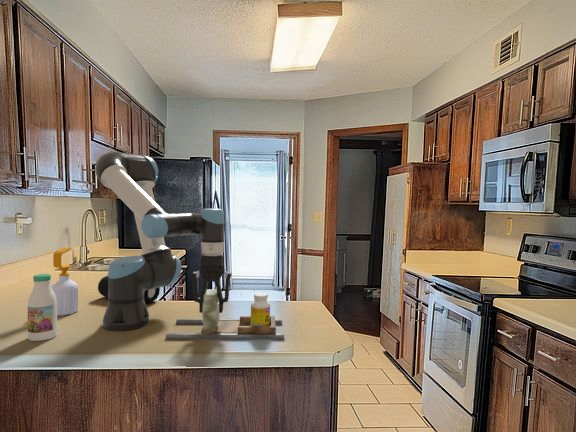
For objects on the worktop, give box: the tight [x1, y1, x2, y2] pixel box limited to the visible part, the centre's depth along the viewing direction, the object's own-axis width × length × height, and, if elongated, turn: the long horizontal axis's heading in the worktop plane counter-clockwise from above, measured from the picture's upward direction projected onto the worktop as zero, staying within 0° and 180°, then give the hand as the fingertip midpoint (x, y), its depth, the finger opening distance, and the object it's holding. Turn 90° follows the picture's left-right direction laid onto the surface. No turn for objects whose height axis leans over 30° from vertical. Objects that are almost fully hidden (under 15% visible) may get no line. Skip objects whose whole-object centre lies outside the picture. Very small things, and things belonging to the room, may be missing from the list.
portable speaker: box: [97, 275, 161, 304], centre depth 159 cm, size 26×10×10 cm, turn 73°
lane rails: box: [165, 318, 285, 340], centre depth 126 cm, size 38×15×2 cm, turn 94°
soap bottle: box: [51, 247, 79, 317], centre depth 140 cm, size 9×9×25 cm
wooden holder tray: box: [200, 288, 277, 334], centre depth 126 cm, size 24×11×13 cm, turn 94°
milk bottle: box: [27, 273, 58, 342], centre depth 116 cm, size 8×8×20 cm
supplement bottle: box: [249, 292, 271, 326], centre depth 127 cm, size 7×7×13 cm
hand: (211, 321), depth 126 cm, fingers closed on wooden holder tray, 4 cm apart
